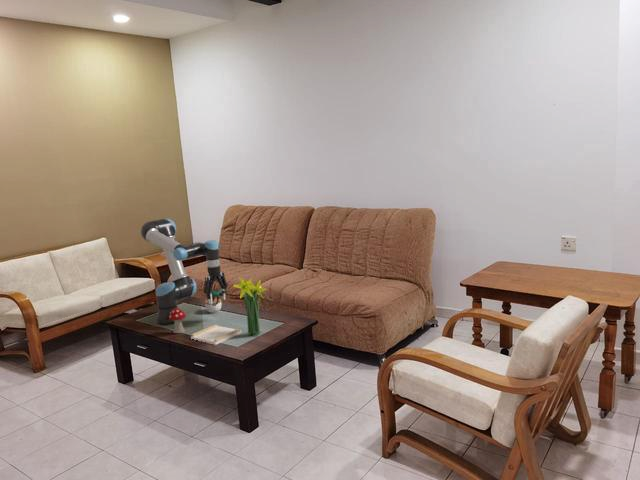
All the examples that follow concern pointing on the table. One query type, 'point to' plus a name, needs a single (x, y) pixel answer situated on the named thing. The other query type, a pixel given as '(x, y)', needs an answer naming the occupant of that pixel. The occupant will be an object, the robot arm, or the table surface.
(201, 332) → the display riser
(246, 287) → the daffodil flowers
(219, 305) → the lidded jar
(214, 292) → the binoculars
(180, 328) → the decorative mushroom
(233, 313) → the table surface
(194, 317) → the table surface
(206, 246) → the robot arm
